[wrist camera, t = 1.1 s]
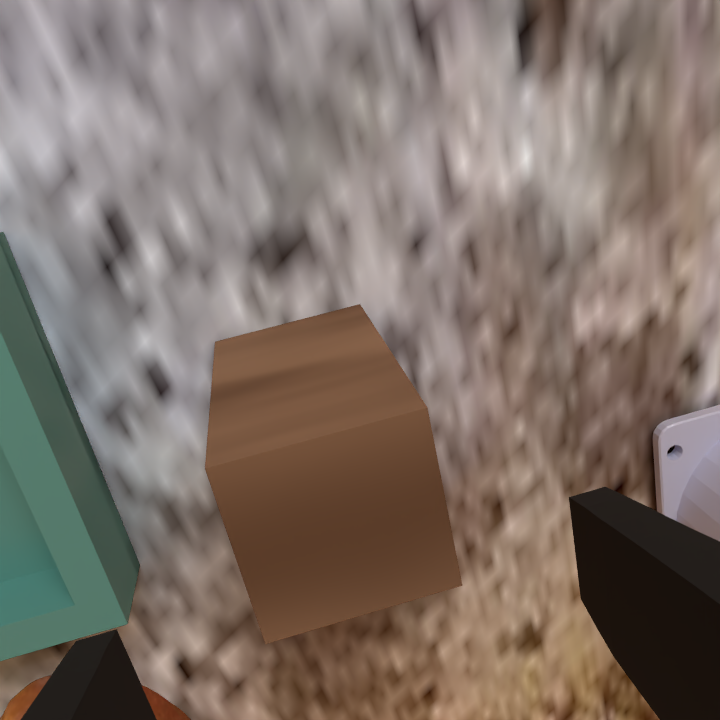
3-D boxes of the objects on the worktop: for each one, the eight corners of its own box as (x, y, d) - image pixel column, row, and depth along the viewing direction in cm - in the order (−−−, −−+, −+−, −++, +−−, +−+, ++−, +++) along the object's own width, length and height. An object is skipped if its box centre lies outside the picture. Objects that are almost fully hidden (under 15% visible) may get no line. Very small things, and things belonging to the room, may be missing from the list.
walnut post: (388, 432, 20) (462, 585, 14) (254, 469, 20) (265, 644, 13) (360, 304, 19) (427, 406, 12) (215, 341, 18) (204, 468, 12)
